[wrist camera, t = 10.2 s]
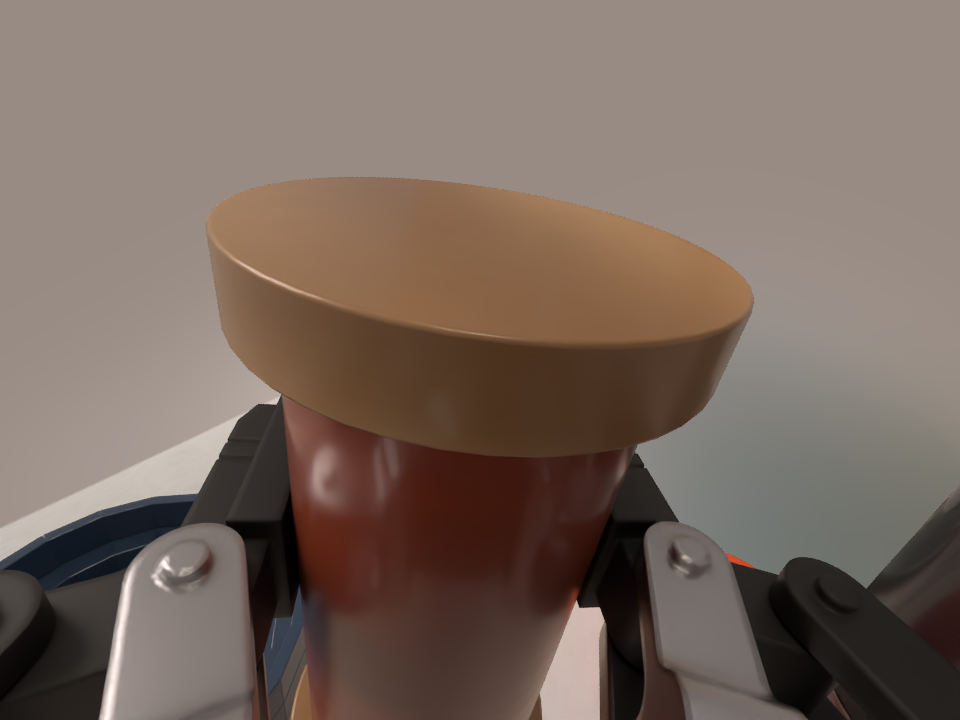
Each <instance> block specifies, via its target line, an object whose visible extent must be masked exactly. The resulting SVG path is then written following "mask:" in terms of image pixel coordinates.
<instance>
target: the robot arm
mask: <svg viewBox="0 0 960 720" xmlns="http://www.w3.org/2000/svg"><path fill="white" fill-rule="evenodd" d="M299 585H300V584H299V573H298V563H297V552H296V541H295V531H294V520H293V510H292V499H291V488H290V478H289V467H288V456H287V446H286V435H285V424H284V414H283V403H282V394H281V397H280V399H279V401H278V403H277V405H270V404H258V405H256V406H255V407H254V408H253V409H251V410H250V411H249V412H248V413H246V414H245V415H244V416H243V417H241V418H240V419H239V420H238V421H237V423H236V425H235V427H234V429H233V431H232V432H231V434H230V436H229V438H228V443H225V445H224V447H223V449H222V451H221V453H220V454H219V459H218V460H216V462H215V464H214V466H213V467H212V469H211V471H210V473H209V475H208V477H207V478H206V480H205V482H204V484H203V486H202V488H201V490H200V491H199V493H198V495H197V497H196V499H195V501H194V502H193V504H192V506H191V508H190V510H189V512H188V514H187V515H186V517H185V519H184V521H183V523H182V525H181V526H180V528H178V529H175V530H173V531H170V532H168V533H166V534H164V535H162V536H161V537H159V538H157V539H156V540H154V541H153V542H151V543H150V544H149V545H148V546H146V547H145V548H144V549H143V550H142V551H141V552H140V553H139V554H138V555H137V556H136V557H135V558H134V560H133V561H132V562H131V564H130V565H129V567H128V568H126V569H123V570H121V571H118V572H115V573H112V574H108V575H105V576H101V577H97V578H94V579H90V580H86V581H82V582H79V583H75V584H71V585H67V586H63V587H60V588H56V589H52V590H48V591H45V592H44V591H43V589H42V587H41V585H40V583H39V582H38V581H37V579H36V578H35V577H33V576H32V575H30V574H28V573H25V572H22V571H17V570H0V720H270V714H269V702H268V691H267V679H266V668H265V657H264V650H265V647H266V643H267V639H268V636H269V632H270V628H271V625H272V621H273V618H287V617H292V615H293V610H294V606H295V602H296V598H297V594H298V589H299ZM577 602H578V605H579V608H588V607H600V609H601V612H602V615H603V617H604V620H605V622H604V624H603V626H602V628H601V632H600V637H599V667H600V720H960V484H959V485H958V486H957V488H956V489H955V490H954V491H953V492H952V493H951V494H950V495H949V497H948V498H947V499H946V500H945V501H944V502H943V503H942V505H941V506H940V507H939V508H938V509H937V510H936V511H935V512H934V513H933V515H932V516H931V517H930V518H929V519H928V520H927V521H926V522H925V524H924V525H923V526H922V527H921V528H920V529H919V530H918V531H917V532H916V534H915V535H914V536H913V537H912V538H911V539H910V540H909V541H908V543H907V544H906V545H905V546H904V547H903V548H902V549H901V550H900V552H899V553H898V554H897V555H896V556H895V557H894V558H893V559H892V560H891V562H890V563H889V564H888V565H887V566H886V567H885V568H884V569H883V571H882V572H881V573H880V574H879V575H878V576H877V577H876V578H875V580H874V581H873V582H872V583H871V584H870V585H869V586H868V587H867V588H866V589H865V587H863V586H862V585H861V584H860V583H858V582H857V581H856V580H855V579H853V578H852V577H851V576H849V575H848V574H847V573H845V572H843V571H842V570H840V569H838V568H836V567H834V566H832V565H830V564H828V563H826V562H823V561H820V560H816V559H813V558H806V557H799V558H794V559H792V560H790V561H789V562H788V563H787V564H786V566H785V567H784V568H783V570H782V571H781V572H780V574H779V575H776V574H773V573H769V572H765V571H761V570H758V569H755V568H751V567H747V566H744V565H740V564H736V563H733V562H730V561H729V559H728V557H727V555H726V554H725V553H724V551H723V550H722V549H721V548H720V547H719V546H718V545H717V544H716V543H715V542H714V541H713V540H712V539H711V538H709V537H708V536H706V535H705V534H704V533H702V532H701V531H699V530H697V529H695V528H693V527H691V526H688V525H685V524H682V523H679V521H678V519H677V518H676V516H675V515H674V513H673V511H672V510H671V508H670V506H669V505H668V503H667V501H666V500H665V498H664V496H663V495H662V493H661V491H660V490H659V488H658V487H657V485H656V483H655V482H654V480H653V478H652V477H651V475H650V473H649V472H648V470H647V468H644V463H643V462H642V460H641V459H640V457H639V455H638V454H635V453H634V455H633V458H632V460H631V463H630V465H629V468H628V470H627V473H626V475H625V478H624V481H623V483H622V486H621V488H620V491H619V493H618V496H617V498H616V501H615V503H614V506H613V508H612V511H611V513H610V516H609V519H608V521H607V524H606V526H605V529H604V531H603V534H602V536H601V539H600V541H599V544H598V546H597V549H596V551H595V554H594V556H593V559H592V562H591V564H590V567H589V569H588V572H587V574H586V577H585V579H584V582H583V584H582V587H581V589H580V592H579V594H578V597H577Z"/></svg>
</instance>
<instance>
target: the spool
mask: <svg viewBox="0 0 960 720" xmlns="http://www.w3.org/2000/svg"><path fill="white" fill-rule="evenodd" d="M206 230H207V238H208V246H209V251H210V258H211V264H212V271H213V276H214V283H215V290H216V296H217V302H218V309H219V315H220V321H221V327H222V331H223V333H224V335H225V337H226V339H227V341H228V344H229V346H230V347H231V349H232V350H233V351H234V353H235V354H236V355H237V356H238V357H239V358H240V360H241V361H242V362H243V363H244V365H245V366H246V367H247V368H248V369H249V370H250V371H251V372H253V373H254V374H255V375H256V376H257V377H259V378H260V379H261V380H263V382H265V383H266V384H267V385H269V386H270V387H271V388H272V389H274V390H276V391H278V392H279V393H281V394H282V403H283V414H284V424H285V435H286V446H287V456H288V467H289V478H290V488H291V499H292V510H293V520H294V531H295V541H296V552H297V563H298V573H299V584H300V595H301V605H302V616H303V627H304V637H305V648H306V658H307V664H306V666H305V668H304V671H303V673H302V675H301V678H300V681H299V684H298V686H297V689H296V692H295V697H294V701H293V706H292V710H291V717H290V720H542V709H541V699H540V691H541V688H542V686H543V683H544V681H545V678H546V675H547V673H548V670H549V668H550V665H551V663H552V660H553V658H554V655H555V653H556V650H557V648H558V645H559V643H560V640H561V638H562V635H563V632H564V630H565V627H566V625H567V622H568V620H569V617H570V615H571V612H572V610H573V607H574V605H575V602H576V600H577V597H578V594H579V592H580V589H581V587H582V584H583V582H584V579H585V577H586V574H587V572H588V569H589V567H590V564H591V562H592V559H593V556H594V554H595V551H596V549H597V546H598V544H599V541H600V539H601V536H602V534H603V531H604V529H605V526H606V524H607V521H608V519H609V516H610V513H611V511H612V508H613V506H614V503H615V501H616V498H617V496H618V493H619V491H620V488H621V486H622V483H623V481H624V478H625V475H626V473H627V470H628V468H629V465H630V463H631V460H632V458H633V455H634V453H635V450H636V448H637V445H638V444H640V443H644V442H647V441H650V440H654V439H657V438H659V437H661V436H663V435H665V434H667V433H669V432H671V431H673V430H675V429H677V428H679V427H681V426H682V425H684V424H685V423H687V422H688V421H689V420H690V419H691V418H693V417H694V416H695V415H697V414H698V413H699V412H700V411H702V410H703V408H704V407H705V406H706V404H707V403H708V402H709V400H710V399H711V397H712V396H713V394H714V392H715V390H716V388H717V386H718V384H719V381H720V379H721V377H722V375H723V373H724V371H725V369H726V367H727V364H728V362H729V360H730V358H731V356H732V354H733V351H734V349H735V347H736V345H737V343H738V341H739V339H740V336H741V334H742V332H743V330H744V328H745V326H746V324H747V322H748V319H749V317H750V315H751V313H752V308H753V304H754V297H753V294H752V290H751V287H750V286H749V284H748V283H747V282H746V280H745V279H744V277H743V276H741V275H740V274H739V273H738V272H737V271H736V270H735V269H734V268H733V267H731V266H730V265H728V264H727V263H726V262H724V261H723V260H721V259H720V258H718V257H717V256H715V255H713V254H712V253H710V252H708V251H706V250H704V249H703V248H701V247H699V246H697V245H695V244H693V243H691V242H689V241H686V240H684V239H682V238H680V237H677V236H675V235H673V234H670V233H668V232H665V231H663V230H660V229H657V228H654V227H652V226H649V225H646V224H643V223H640V222H637V221H634V220H631V219H628V218H625V217H622V216H618V215H615V214H611V213H608V212H604V211H601V210H597V209H593V208H589V207H586V206H581V205H577V204H573V203H569V202H564V201H560V200H555V199H550V198H546V197H541V196H536V195H531V194H526V193H520V192H514V191H508V190H503V189H496V188H489V187H482V186H475V185H467V184H460V183H450V182H441V181H429V180H418V179H403V178H379V177H377V178H376V177H337V178H316V179H305V180H294V181H286V182H280V183H274V184H269V185H265V186H261V187H256V188H252V189H249V190H246V191H243V192H240V193H237V194H235V195H233V196H231V197H229V198H227V199H225V200H223V201H221V202H220V203H219V204H218V205H217V206H216V207H214V208H213V209H212V211H211V213H210V215H209V217H208V219H207V222H206Z"/></svg>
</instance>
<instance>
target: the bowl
mask: <svg viewBox="0 0 960 720" xmlns="http://www.w3.org/2000/svg"><path fill="white" fill-rule="evenodd" d="M197 495H198V494H187V495H172V496H158V497H151V498H147V499H143V500H139V501H136V502H132V503H128V504H124V505H120V506H116V507H112V508H108V509H104V510H101V511H98V512H96V513H93V514H91V515H89V516H86V517H84V518H82V519H79V520H77V521H75V522H72V523H70V524H68V525H65V526H63V527H61V528H58V529H56V530H54V531H51V532H49V533H47V534H45V535H43V536H41V537H39V538H37V539H36V540H34V541H33V542H31V543H29V544H28V545H26V546H24V547H23V548H21V549H20V550H18V551H16V552H15V553H13V554H12V555H10V556H8V557H7V558H5V559H4V560H2V561H0V570H17V571H22V572H25V573H28V574H30V575H32V576H33V577H35V578H36V579H37V581H38V582H39V583H40V585H41V587H42V589H43V591H44V592H45V591H48V590H52V589H56V588H60V587H63V586H67V585H71V584H75V583H79V582H82V581H86V580H90V579H94V578H97V577H101V576H105V575H108V574H112V573H115V572H118V571H121V570H123V569H126V568H128V567H129V565H130V564H131V562H132V561H133V560H134V558H135V557H136V556H137V555H138V554H139V553H140V552H141V551H142V550H143V549H144V548H145V547H146V546H148V545H149V544H150V543H151V542H153V541H154V540H156V539H157V538H159V537H161V536H162V535H164V534H166V533H168V532H170V531H173V530H175V529H178V528H180V526H181V525H182V523H183V521H184V519H185V517H186V515H187V514H188V512H189V510H190V508H191V506H192V504H193V502H194V501H195V499H196V497H197ZM264 657H265V668H266V679H267V691H268V702H269V714H270V720H288V719H289V716H290V714H291V710H292V706H293V701H294V697H295V692H296V689H297V686H298V684H299V681H300V678H301V675H302V673H303V671H304V668H305V666H306V664H307V658H306V648H305V637H304V627H303V616H302V605H301V595H300V585H299V589H298V594H297V598H296V602H295V606H294V610H293V615H292V617H287V618H273V621H272V625H271V628H270V632H269V636H268V639H267V643H266V647H265V650H264Z"/></svg>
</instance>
